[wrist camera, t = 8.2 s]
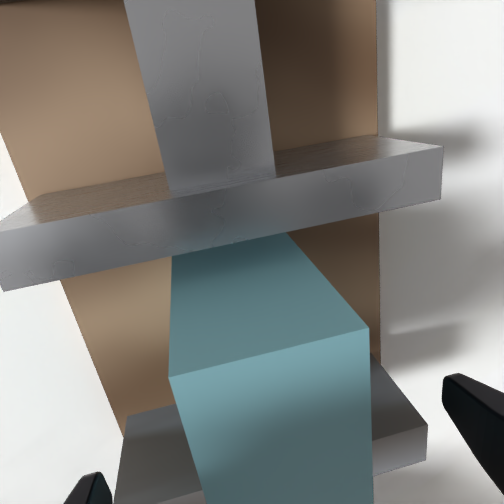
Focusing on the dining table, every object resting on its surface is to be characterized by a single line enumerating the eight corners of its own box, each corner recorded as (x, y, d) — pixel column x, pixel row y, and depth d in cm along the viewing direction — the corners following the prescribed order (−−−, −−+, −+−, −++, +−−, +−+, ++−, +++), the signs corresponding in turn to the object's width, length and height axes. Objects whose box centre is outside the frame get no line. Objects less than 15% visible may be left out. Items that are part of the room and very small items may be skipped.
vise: (371, 375, 20) (436, 465, 15) (133, 439, 19) (117, 562, 14) (359, -86, 12) (486, -218, 7) (-54, -42, 11) (-255, -170, 6)
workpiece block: (290, 356, 17) (374, 539, 10) (207, 377, 17) (231, 584, 10) (272, 216, 15) (369, 327, 7) (172, 236, 14) (168, 377, 7)
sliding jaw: (367, 173, 15) (440, 199, 11) (56, 235, 13) (3, 292, 9) (361, -80, 11) (462, -182, 7) (-49, -36, 10) (-199, -131, 6)
